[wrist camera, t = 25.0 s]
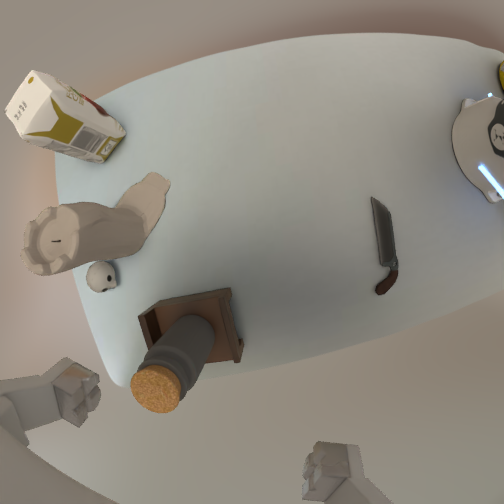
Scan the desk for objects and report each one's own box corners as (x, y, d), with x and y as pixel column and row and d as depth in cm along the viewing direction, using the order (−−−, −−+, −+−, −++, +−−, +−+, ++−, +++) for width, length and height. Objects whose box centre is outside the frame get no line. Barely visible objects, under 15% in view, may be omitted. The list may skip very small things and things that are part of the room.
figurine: (116, 296, 43) (101, 304, 38) (93, 280, 43) (76, 285, 38) (127, 269, 42) (112, 275, 37) (103, 253, 42) (86, 256, 37)
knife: (398, 289, 40) (400, 290, 39) (375, 295, 40) (376, 296, 39) (387, 194, 39) (389, 194, 38) (362, 198, 39) (364, 197, 38)
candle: (180, 188, 41) (108, 162, 21) (130, 265, 42) (42, 293, 22) (145, 162, 41) (62, 125, 21) (98, 237, 42) (5, 248, 22)
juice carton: (103, 170, 41) (19, 147, 22) (76, 141, 41) (-2, 113, 22) (133, 133, 40) (59, 88, 21) (104, 106, 40) (33, 61, 21)
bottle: (170, 313, 38) (118, 361, 23) (214, 314, 37) (180, 367, 22) (175, 353, 38) (131, 413, 23) (217, 355, 38) (189, 421, 23)
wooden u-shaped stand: (230, 287, 41) (220, 301, 34) (244, 345, 42) (238, 370, 34) (159, 300, 42) (137, 316, 34) (175, 355, 43) (158, 378, 35)
